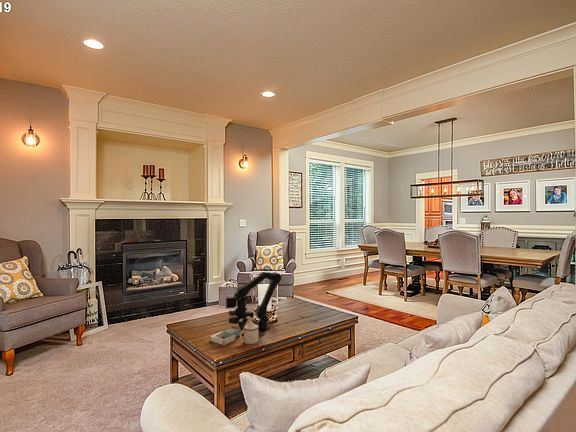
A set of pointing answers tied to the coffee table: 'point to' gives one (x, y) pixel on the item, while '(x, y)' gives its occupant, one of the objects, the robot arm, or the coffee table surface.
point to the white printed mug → (250, 333)
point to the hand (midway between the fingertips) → (241, 330)
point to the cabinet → (232, 332)
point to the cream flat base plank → (218, 339)
